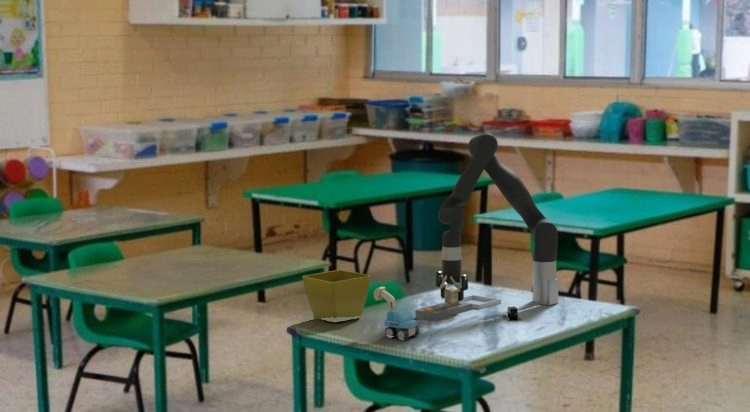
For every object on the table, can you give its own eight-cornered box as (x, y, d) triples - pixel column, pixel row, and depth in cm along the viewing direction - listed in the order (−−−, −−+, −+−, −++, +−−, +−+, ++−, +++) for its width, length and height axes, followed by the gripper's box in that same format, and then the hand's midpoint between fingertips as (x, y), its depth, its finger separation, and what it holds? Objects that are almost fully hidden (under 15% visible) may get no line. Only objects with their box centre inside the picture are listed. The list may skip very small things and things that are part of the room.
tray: (501, 305, 497) (501, 299, 496) (479, 311, 487) (479, 304, 486) (473, 300, 506) (473, 294, 506) (451, 306, 496) (451, 300, 496)
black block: (526, 322, 468) (526, 310, 468) (507, 323, 467) (507, 311, 467) (517, 315, 481) (517, 303, 480) (498, 316, 480) (498, 304, 479)
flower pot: (302, 318, 479) (301, 275, 476) (341, 311, 491) (340, 269, 489) (333, 327, 464) (332, 282, 462) (372, 319, 476) (371, 275, 474)
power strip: (472, 311, 487) (471, 301, 486) (435, 321, 470) (435, 311, 470) (451, 308, 493) (451, 298, 493) (415, 317, 477) (415, 307, 477)
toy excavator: (385, 330, 457) (384, 284, 454) (421, 337, 446) (421, 289, 444) (370, 335, 450) (369, 288, 448) (406, 341, 440) (406, 293, 437)
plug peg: (459, 312, 486) (459, 289, 485) (453, 313, 483) (452, 290, 482) (451, 310, 488) (451, 288, 487) (444, 312, 485) (444, 289, 484)
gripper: (472, 258, 481) (472, 300, 483) (443, 254, 490) (443, 295, 492) (460, 261, 475) (460, 303, 477) (431, 257, 485) (431, 298, 487)
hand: (452, 299), depth 485 cm, fingers open, 8 cm apart
